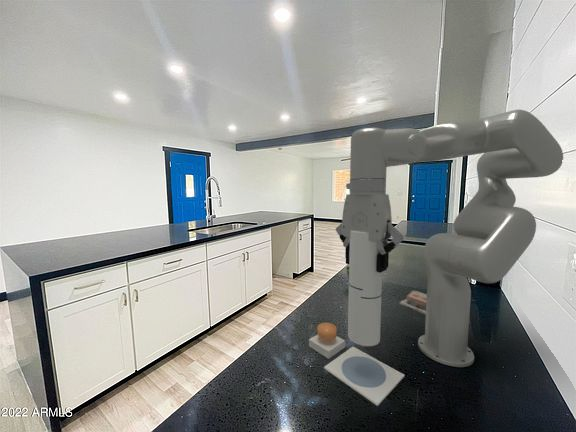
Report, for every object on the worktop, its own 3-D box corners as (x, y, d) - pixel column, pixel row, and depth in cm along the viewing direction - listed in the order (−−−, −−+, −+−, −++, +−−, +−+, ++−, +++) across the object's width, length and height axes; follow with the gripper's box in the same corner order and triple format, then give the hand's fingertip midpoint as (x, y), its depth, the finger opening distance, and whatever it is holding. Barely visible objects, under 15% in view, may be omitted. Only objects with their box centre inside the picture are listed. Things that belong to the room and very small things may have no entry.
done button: (325, 327, 71) (325, 320, 71) (340, 334, 67) (340, 327, 67) (313, 334, 68) (313, 327, 68) (328, 342, 64) (328, 335, 64)
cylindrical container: (355, 325, 62) (357, 227, 60) (384, 335, 58) (388, 229, 55) (342, 338, 57) (344, 230, 54) (373, 350, 52) (376, 234, 50)
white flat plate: (352, 347, 67) (352, 346, 67) (404, 376, 57) (404, 374, 57) (323, 368, 60) (323, 366, 60) (377, 406, 49) (377, 403, 49)
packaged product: (465, 304, 83) (451, 312, 78) (464, 317, 84) (450, 326, 79) (414, 286, 98) (399, 292, 93) (413, 298, 99) (398, 304, 94)
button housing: (325, 336, 73) (325, 329, 73) (345, 347, 68) (345, 340, 67) (308, 346, 68) (308, 339, 68) (328, 358, 63) (328, 351, 63)
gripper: (325, 188, 58) (325, 262, 60) (398, 187, 45) (395, 281, 47) (345, 188, 63) (343, 256, 65) (416, 187, 50) (412, 272, 52)
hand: (365, 266), depth 56 cm, fingers closed on cylindrical container, 7 cm apart
